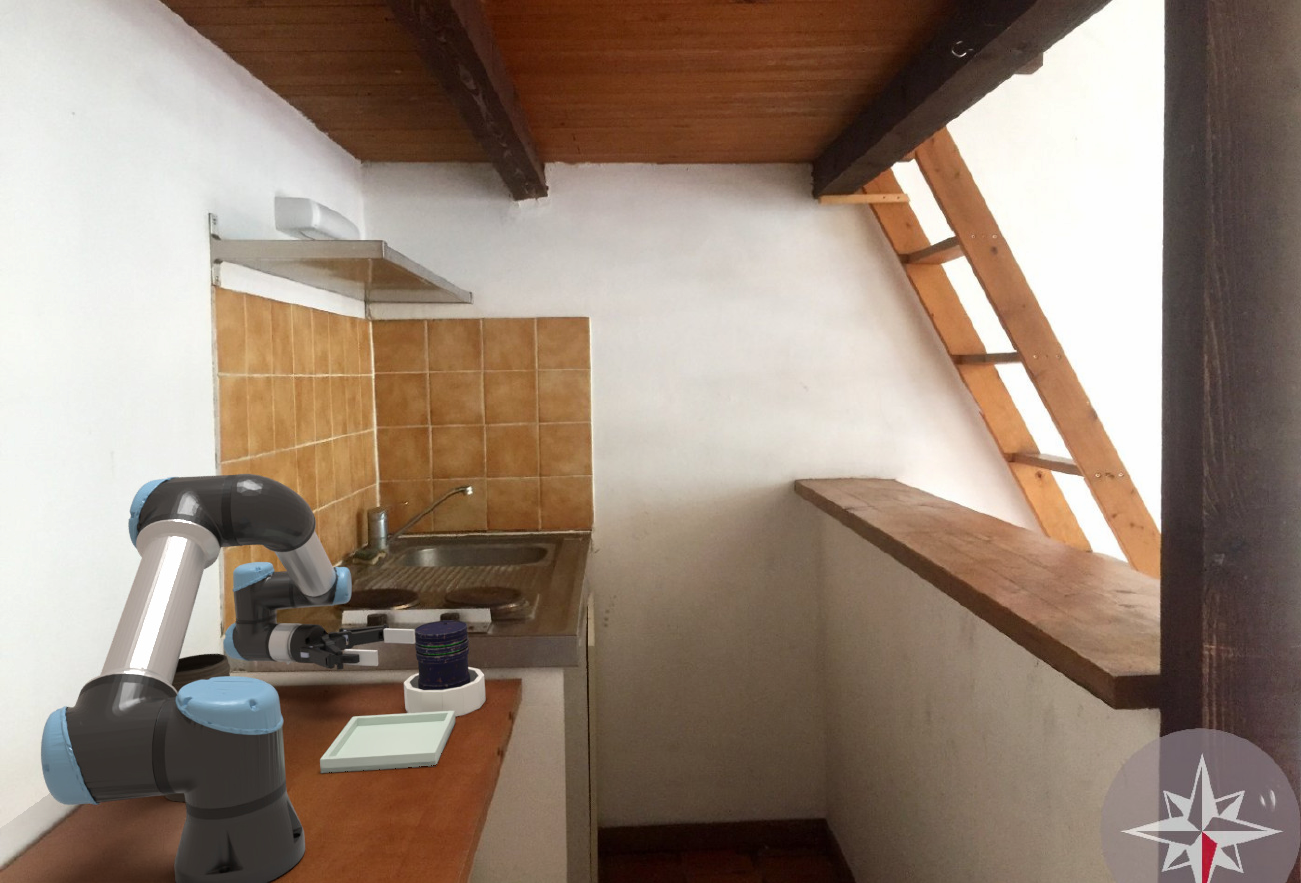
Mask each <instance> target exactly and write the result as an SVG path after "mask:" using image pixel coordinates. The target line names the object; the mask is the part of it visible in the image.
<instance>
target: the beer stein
mask: <svg viewBox="0 0 1301 883" xmlns="http://www.w3.org/2000/svg"><path fill="white" fill-rule="evenodd" d="M227 656H228V655H227ZM227 656H226V655H225V654H221V653H203V654H195V655H189V656H185V657H181V658H180V657H179V661H178V664H177V668H176V671H175V675H174V679H173V682H172V686H173V687H174V688H175V689H176V691H177V692H179V690H180V689H181V688H182V687H183V686H185V685H187V684H189V683H192V682H195V681H198V680H209V679H210V678H213V677H225V676H231V674H230V671H231V666H230V663H229V659H228V657H227ZM163 796H164V797H165V798H166V800H167V799H168V800H169V801H172V802H181V803H183V802H184V803H186V801H185V795H184V793H175V794H167V795H163Z"/></svg>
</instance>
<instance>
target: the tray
mask: <svg viewBox="0 0 1301 883" xmlns="http://www.w3.org/2000/svg"><path fill="white" fill-rule="evenodd" d="M455 724H456V717H455V711H438V712H422V713H407V712H406V713H392V714H391V713H389V714H377V715H376V714H373V715H372V714H371V715H359V716H358V715H357V716H352V717H351V718H350V720H349V721H348V722H347V723H346V725H345V726H344V727H343V729H342V730H341V732H340V733H339V734H338V735H337V737H336V738H335V739H334V740H333V742H332V743H331V745H330V746H329V747H328V749H327V750H326V751H325V752H324V754H323V755H322V756H321V758H320V759H319V763H320V764H319V766H320V774H330V773H331V772H332V773H343V772H345V771H346V772H345V773H347V771H348V772H360V771H361V772H362V771H363V770H364V771H376V770H378V771H379V769H380V770H395V768H396V769H409V768H408V767H412V768H422V767H421V766H428V767H434V766H433V765H436V764H437V765H438V762H439V760H440V758H441V756H442V754H443V751H444V749H445V747H446V745H447V742H448V740H449V738H450V736H451V733H452V731H453V729H454V726H456V725H455ZM441 753H442V754H441ZM431 765H432V766H431ZM437 765H436V766H437ZM419 766H420V767H419ZM329 772H330V773H329Z"/></svg>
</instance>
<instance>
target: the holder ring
mask: <svg viewBox="0 0 1301 883" xmlns="http://www.w3.org/2000/svg"><path fill="white" fill-rule="evenodd" d="M468 670H469V673H470V681H471V683H468V684H466V685H463V686H461V687H456V688H451V689H445V690H421V689H418V679H419V672H418V673H415V674H412V675H410V676H409V677H408V678H407V679H406V680H405V681H403V691H404V692H403V694H404V704H405V705H404V706H405V707H404V708H405V710H406V713H422V712H438V711H455V718H456V717H458V716H460V717H461V716H465V715H467V714H470V713H472V712H474V711H476V710H478V709H481V707H482V705H483V704H484V703H485V702H486V700H487V699H486V686H485V685H486V684H485V683H486V682H485V674H484V673H483V672H482V670H481V669H480V668H476V667H471V666H468Z"/></svg>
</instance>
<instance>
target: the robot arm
mask: <svg viewBox="0 0 1301 883" xmlns="http://www.w3.org/2000/svg"><path fill="white" fill-rule="evenodd" d="M129 513H130V518H129V519H128V534H129V539H130V540H131V543H132V545H133V546H134V548H135V549H136V550H137V553H138V554H139V555H140V558H141V559H140V563H139V564H138V567H137V571H136V573H135V576H134V579H133V581H132V585H131V587H130V590H129V593H128V596H127V598H126V602H125V604H124V607H123V610H122V612H121V616H120V618H119V622H118V624H117V627H116V629H115V632H114V634H113V635H114V636H113V638H112V641H111V644H110V647H109V649H108V652H107V654H106V658H105V661H104V663H103V666H102V669H101V672H100V675H97V676H95V677H92V678H91V679H90V680H88V681H87V682H86V683H85V684H84V685H83V686H82V688H81V689H80V692H79V694H78V697H77V700H76V701H75V705H74V706H72V707H71V706H63V707H61V708H57V709H56V710H54V711H52V712H51V713H50V715H49V716H47V719H46V721H45V723H44V724H45V725H44V727H43V731H42V735H41V742H40V762H41V768H42V769H41V770H42V775H43V779H44V783H45V785H46V787H47V790H48V791H49V793H50V795H51V796H52V797H53V799H54V800H55V801H57V802H59V803H60V804H63V805H66V806H75V805H86V804H87V805H88V804H91V805H95V806H97V805H99V804H101V803H107V802H116V801H123V800H125V801H126V800H133V799H140V798H149V797H157V796H164V795H167V794H175V793H184V795H185V801H186V802H185V812H186V813H185V814H186V817H185V820H184V823H183V824H184V825H183V827H182V831H181V835H180V839H179V844H178V847H177V851H176V855H175V858H174V864H173V865H174V877H175V883H270V882H271V881H274V880H276V879H277V878H278V877H281V876H283V875H284V874H286V873H287V872H288V871H290V870H291V869H292V868H293V867H295V866H296V865H297V864H298V863H299V862H300V861H301V859H302V858H303V856H304V854H305V852H306V842H305V841H306V839H305V830H304V827H303V825H302V823H301V820H300V818H299V817H298V814H297V812H296V810H295V807H294V806H293V803H292V802H291V801H292V800H291V799H290V797H289V795H288V792H287V791H288V789H287V781H286V780H287V778H286V763H285V762H286V760H285V748H284V732H283V725H284V718H283V717H284V716H283V715H282V713H281V712H282V711H281V703H280V696H279V693H278V691H277V689H276V688H275V687H274V686H273V685H271V683H269V682H266V681H264V680H262V679H259V678H255V677H250V676H249V677H248V676H239V675H238V676H237V675H235V676H234V675H230V676H225V677H213V678H210V679H209V680H198V681H195V682H192V683H189V684H187V685H185V686H183V687H182V688H181V689H180V690H179V692H177V691H176V689H175V688H174V687H173V686H172V682H173V679H174V675H175V671H176V668H177V664H178V661H179V659H180V656H181V652H182V649H183V646H184V642H185V639H186V634H187V632H188V629H189V625H190V621H191V617H192V614H193V609H194V606H195V603H196V598H197V595H198V591H199V589H200V585H201V581H202V578H203V574H204V570H207V568H209V567H211V566H213V564H214V563H215V562H216V561H217V560H218V558H219V556H220V552H221V548H228V547H241V546H242V547H243V546H255V545H256V546H263V547H264V548H265V549H267V550H269V551H271V552H274V553H275V555H276V557H277V558H278V560H279V561H280V563H281V564H282V566H283V567H284V569H285V570H284V571H283V570H282V571H275V569H274V564H272V562H268V561H255V562H247V563H243V564H240V565H238V566H236V567H235V568H234V570H233V572H232V574H233V575H232V579H233V580H232V581H233V582H232V583H233V584H232V585H233V588H232V592H233V593H232V594H233V601H234V603H233V604H234V612H235V614H234V615H235V621H234V622H233V623H231V624H230V625H229V626H228V628H227V629H226V631H225V632H224V635H225V637H224V639H223V640H222V642H223V643H222V644H223V649H224V651H225V653H226V655H227V656H228V657H230V659H233V660H242V661H246V662H275V663H276V662H279V663H280V662H281V663H283V662H284V663H286V665H291V664H292V663H299V664H314V665H318V666H320V667H322V668H326V669H328V670H330V669H334V668H335V666H336V670H344V667H345V666H346V665H347V666H348V665H349V666H364V667H365V666H368V667H369V666H371V667H377V666H378V665H379V653H378V649H377V650H375V649H353V648H354V647H355V646H360V645H367V644H372V643H374V644H375V643H380V642H384V644H387V643H388V644H409V645H411V644H412V645H413V644H414V645H415V643H416V640H415V638H416V635H415V629H416V628H415V629H414V628H410V629H409V628H390V625H389V624H387V623H383V625H373V626H361V627H360V626H359V627H352V628H350V627H347V628H344V627H342V628H339V629H338V631H335V630H334V631H329V632H327V630H326V628H324V626H322V625H320V624H316V623H314V624H313V623H296V622H295V623H293V622H291V623H288V622H287V623H286V622H284V623H283V622H282V623H281V622H278V621H277V620H278V619H277V616H278V614H277V610H290V609H301V608H313V607H315V608H317V607H327V606H330V607H333V606H334V605H335V606H336V605H343V604H347V603H349V601H350V600H351V597H352V587H353V585H352V574H351V571H350V569H349V568H348V567H346V566H340V567H338V566H333V564H332V563H331V560H330V558H329V556H328V554H327V553H326V550H325V548H324V546H323V544H322V542H321V540H320V538H319V536H318V534H317V532H316V528H317V526H316V525H317V522H316V517H315V514H314V512H313V509H312V508H311V507H310V504H309V503H308V502H307V501H306V500H305V499H304V498H303V496H301V495H300V494H299V493H297V491H295V490H293V489H292V488H291V487H289V486H287V485H285V484H283V483H281V482H279V481H277V480H276V479H275V480H274V478H273V479H272V478H270V477H268V476H263V475H259V474H254V473H253V474H252V473H239V474H222V475H218V474H217V475H202V476H201V475H199V476H197V475H196V476H181V477H180V476H170V477H167V478H161V479H152V480H150V481H148V482H145V483H144V484H143V485H142V486H140V488H139V489H138V490H137V492H136V494H135V495H134V497H133V500H132V502H131V505H130V509H129ZM344 665H345V666H344Z"/></svg>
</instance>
